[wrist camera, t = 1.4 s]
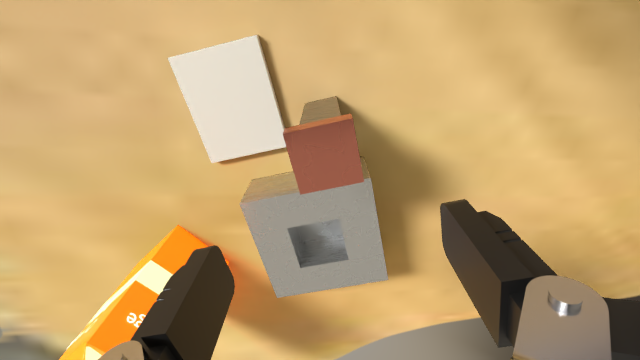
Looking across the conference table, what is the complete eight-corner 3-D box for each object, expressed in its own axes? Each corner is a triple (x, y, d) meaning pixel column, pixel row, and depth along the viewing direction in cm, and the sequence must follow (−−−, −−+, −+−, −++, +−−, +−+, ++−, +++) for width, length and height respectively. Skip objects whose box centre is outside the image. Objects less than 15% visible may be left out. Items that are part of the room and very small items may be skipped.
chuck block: (251, 180, 31) (239, 204, 27) (363, 156, 30) (370, 177, 25) (282, 265, 36) (277, 297, 32) (379, 248, 35) (388, 279, 30)
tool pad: (171, 57, 26) (167, 58, 25) (258, 34, 25) (256, 34, 24) (214, 160, 30) (211, 163, 30) (289, 143, 29) (288, 146, 29)
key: (297, 98, 27) (282, 133, 17) (341, 88, 27) (352, 118, 17) (308, 140, 29) (300, 194, 19) (349, 131, 29) (364, 182, 19)
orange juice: (230, 262, 36) (138, 485, 18) (187, 297, 39) (70, 522, 21) (177, 223, 34) (10, 436, 16) (135, 263, 36) (-49, 484, 18)
